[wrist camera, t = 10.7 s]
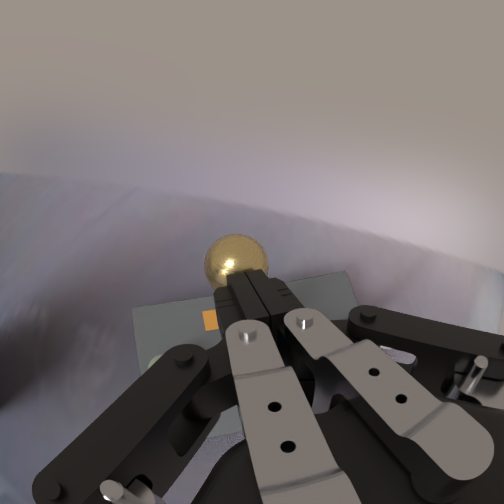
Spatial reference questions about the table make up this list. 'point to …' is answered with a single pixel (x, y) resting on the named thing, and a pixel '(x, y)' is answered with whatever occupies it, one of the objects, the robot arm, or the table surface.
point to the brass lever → (233, 258)
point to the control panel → (207, 331)
